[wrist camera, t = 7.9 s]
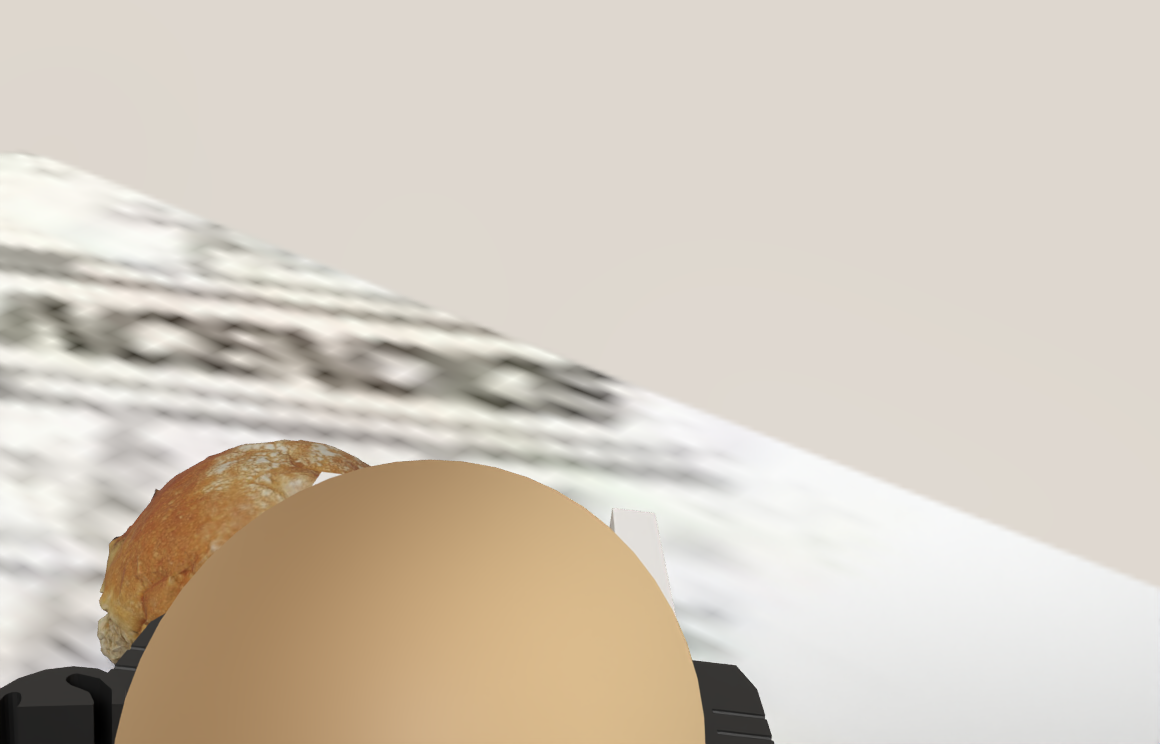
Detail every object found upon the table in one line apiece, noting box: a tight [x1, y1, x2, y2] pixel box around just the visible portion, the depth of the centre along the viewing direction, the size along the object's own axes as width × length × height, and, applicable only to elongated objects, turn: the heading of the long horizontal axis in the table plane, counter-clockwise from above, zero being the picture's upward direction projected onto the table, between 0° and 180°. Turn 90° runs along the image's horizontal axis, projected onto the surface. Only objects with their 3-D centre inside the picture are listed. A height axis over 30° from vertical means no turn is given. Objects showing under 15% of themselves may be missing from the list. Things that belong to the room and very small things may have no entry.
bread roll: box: [97, 440, 371, 664], centre depth 30 cm, size 10×10×8 cm
